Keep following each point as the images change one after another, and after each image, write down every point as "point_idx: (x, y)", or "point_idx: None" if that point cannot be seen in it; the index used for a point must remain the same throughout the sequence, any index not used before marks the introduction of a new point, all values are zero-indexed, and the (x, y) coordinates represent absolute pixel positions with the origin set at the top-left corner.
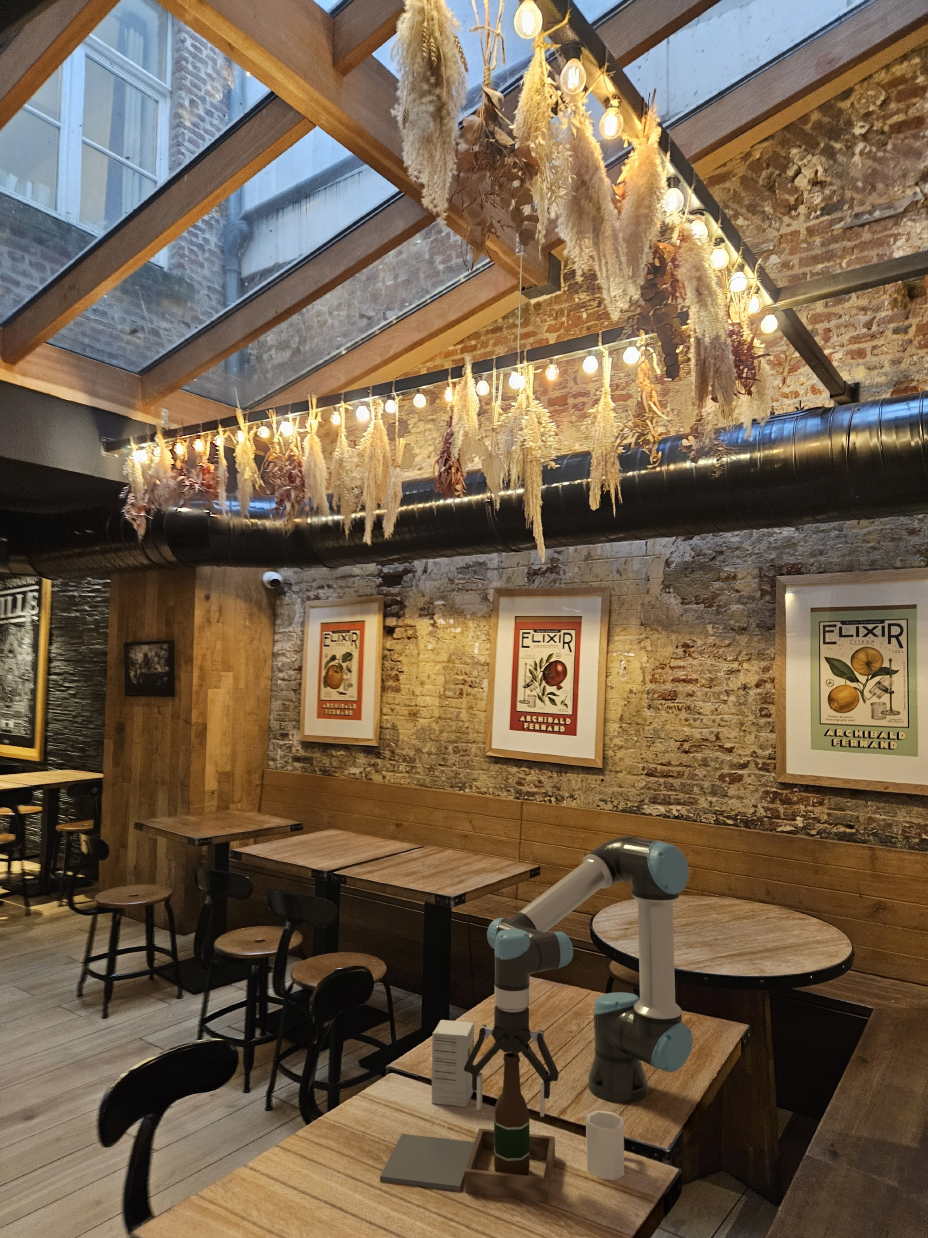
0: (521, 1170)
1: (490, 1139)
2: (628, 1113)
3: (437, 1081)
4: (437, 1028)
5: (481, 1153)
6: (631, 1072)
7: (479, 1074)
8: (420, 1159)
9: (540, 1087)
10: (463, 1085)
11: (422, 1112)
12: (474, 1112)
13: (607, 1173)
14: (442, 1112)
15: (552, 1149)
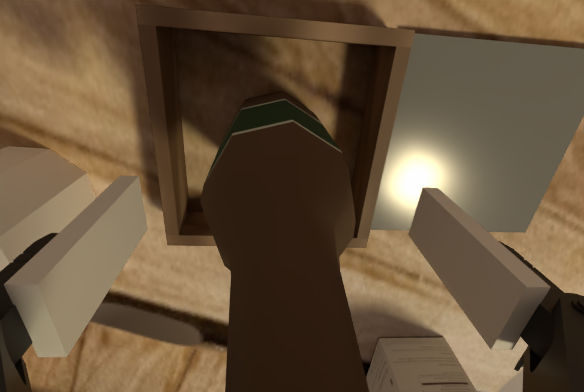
0: (242, 104)
1: None
2: (60, 374)
3: (457, 377)
4: None
5: None
6: None
7: (524, 319)
8: (500, 142)
9: (54, 266)
10: (401, 376)
11: (463, 311)
12: (363, 327)
13: (13, 152)
14: (425, 317)
15: (160, 188)
